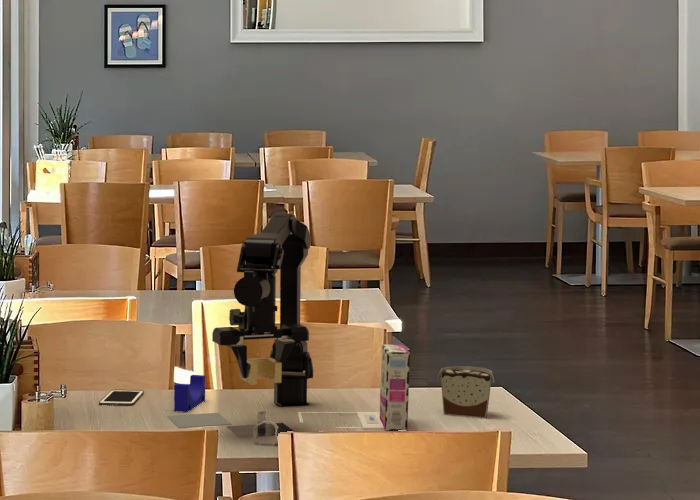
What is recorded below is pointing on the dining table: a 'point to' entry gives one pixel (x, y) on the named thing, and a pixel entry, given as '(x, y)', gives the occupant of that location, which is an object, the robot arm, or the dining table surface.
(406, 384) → the candy bar box
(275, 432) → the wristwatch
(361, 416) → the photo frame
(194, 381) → the blue arch block
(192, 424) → the coaster
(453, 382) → the food container
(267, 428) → the stand
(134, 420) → the dining table surface
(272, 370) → the tan wooden block
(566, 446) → the dining table surface
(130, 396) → the cell phone
